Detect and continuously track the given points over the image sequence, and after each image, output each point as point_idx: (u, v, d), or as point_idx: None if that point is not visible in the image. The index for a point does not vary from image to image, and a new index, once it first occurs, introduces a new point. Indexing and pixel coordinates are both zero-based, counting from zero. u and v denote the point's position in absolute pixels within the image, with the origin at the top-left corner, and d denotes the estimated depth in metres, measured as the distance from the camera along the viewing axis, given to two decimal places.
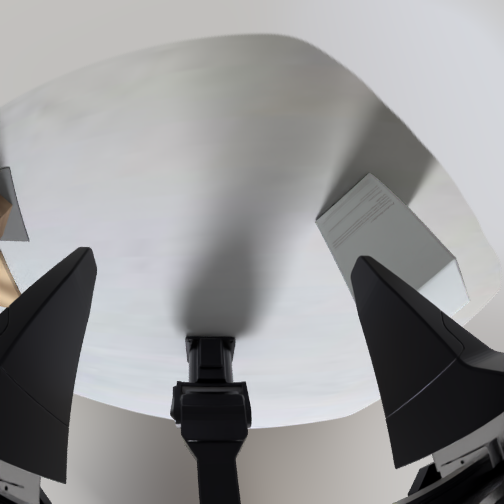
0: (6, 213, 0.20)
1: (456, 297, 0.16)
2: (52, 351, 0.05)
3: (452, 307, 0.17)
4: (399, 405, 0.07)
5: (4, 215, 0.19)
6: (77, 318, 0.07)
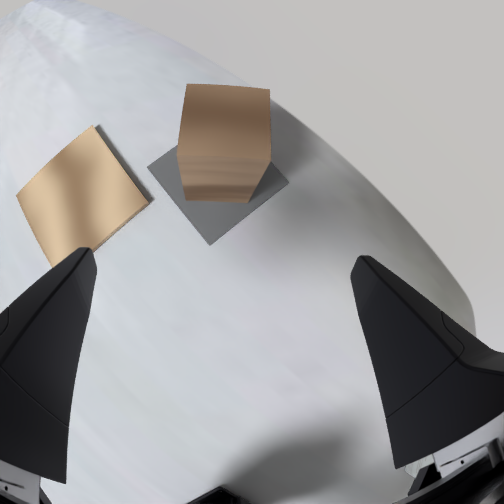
0: (244, 198, 0.22)
1: None
2: (52, 351, 0.05)
3: None
4: (399, 405, 0.07)
5: (245, 197, 0.21)
6: (77, 318, 0.07)
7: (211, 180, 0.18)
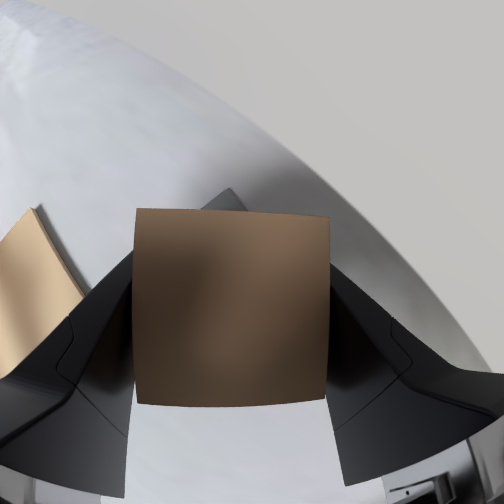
0: None
1: None
2: (119, 361, 0.06)
3: None
4: (345, 419, 0.06)
5: None
6: None
7: None
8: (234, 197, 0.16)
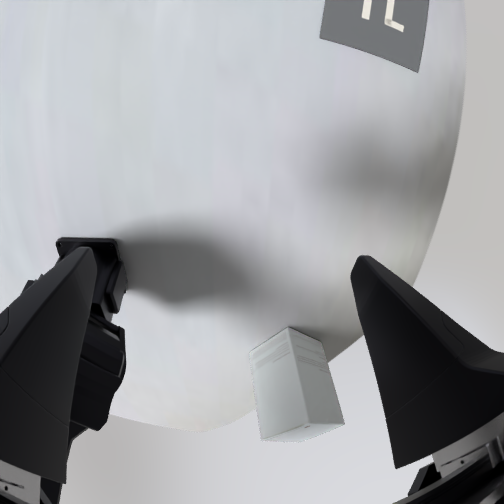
0: None
1: (311, 437, 0.28)
2: (52, 351, 0.05)
3: (302, 439, 0.28)
4: (399, 405, 0.07)
5: None
6: (77, 318, 0.07)
7: None
8: None
